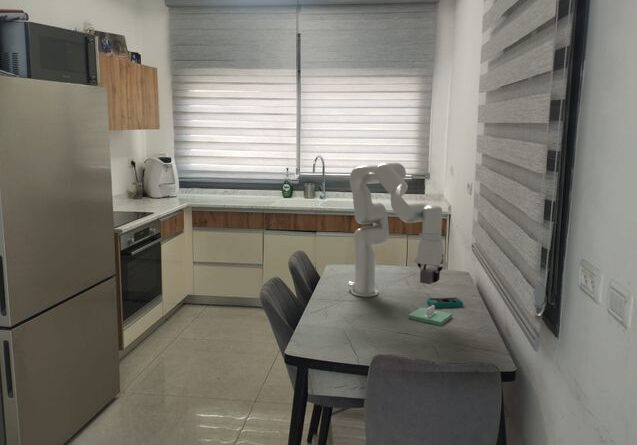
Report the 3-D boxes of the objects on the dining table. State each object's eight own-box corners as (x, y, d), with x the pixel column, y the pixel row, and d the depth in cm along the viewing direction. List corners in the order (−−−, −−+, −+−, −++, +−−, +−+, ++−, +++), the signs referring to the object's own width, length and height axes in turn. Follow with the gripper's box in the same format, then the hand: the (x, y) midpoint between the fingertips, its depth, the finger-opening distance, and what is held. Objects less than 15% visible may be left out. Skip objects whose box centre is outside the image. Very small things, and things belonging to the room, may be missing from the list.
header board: (408, 318, 224) (408, 307, 223) (420, 310, 233) (421, 300, 232) (440, 325, 216) (440, 314, 215) (451, 317, 225) (452, 306, 224)
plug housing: (420, 282, 220) (420, 271, 219) (429, 277, 227) (430, 266, 226) (430, 284, 217) (430, 272, 216) (439, 279, 224) (439, 268, 224)
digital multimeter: (464, 308, 239) (464, 301, 238) (431, 309, 237) (432, 302, 236) (457, 302, 246) (458, 296, 245) (426, 303, 244) (426, 297, 243)
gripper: (408, 235, 221) (407, 279, 224) (447, 240, 211) (445, 286, 214) (416, 233, 227) (415, 275, 230) (455, 237, 217) (453, 282, 220)
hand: (429, 280), depth 222 cm, fingers closed on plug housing, 4 cm apart
